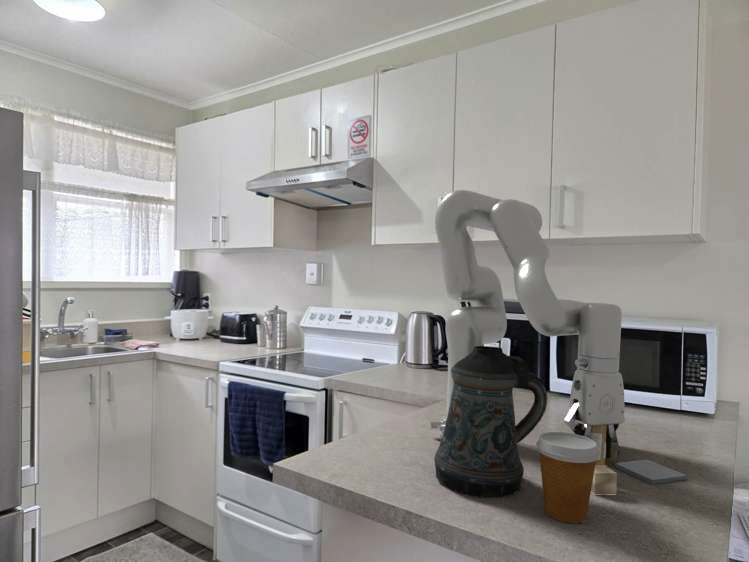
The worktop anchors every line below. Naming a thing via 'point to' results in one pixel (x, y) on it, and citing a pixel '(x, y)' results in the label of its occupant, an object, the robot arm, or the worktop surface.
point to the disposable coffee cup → (567, 474)
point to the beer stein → (487, 424)
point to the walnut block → (612, 455)
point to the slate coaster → (650, 471)
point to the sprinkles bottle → (599, 441)
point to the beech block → (604, 480)
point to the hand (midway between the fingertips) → (593, 455)
